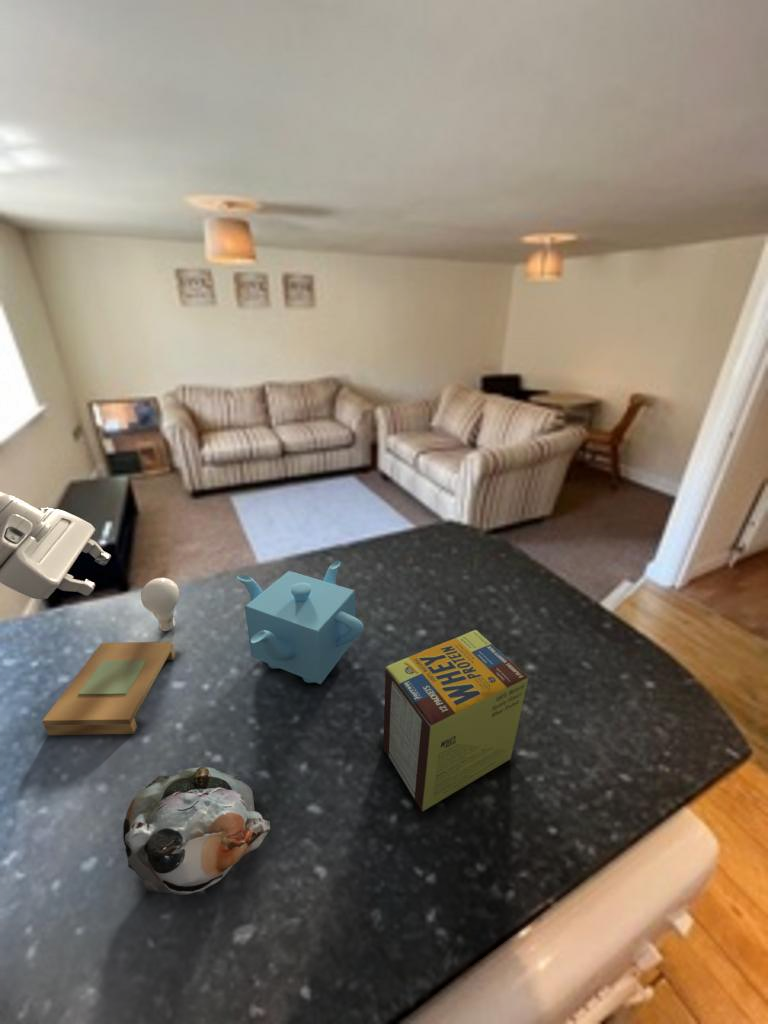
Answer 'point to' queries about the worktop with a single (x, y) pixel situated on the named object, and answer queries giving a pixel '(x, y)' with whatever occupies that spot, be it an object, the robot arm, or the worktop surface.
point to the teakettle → (301, 623)
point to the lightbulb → (161, 600)
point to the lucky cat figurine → (191, 829)
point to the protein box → (451, 715)
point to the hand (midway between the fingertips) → (100, 574)
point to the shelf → (109, 689)
